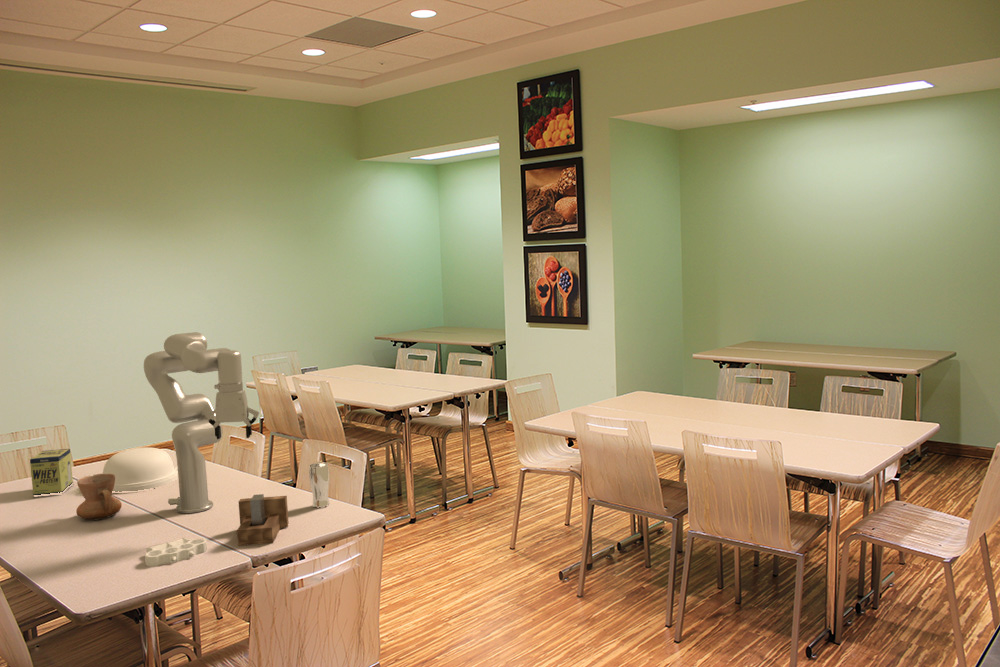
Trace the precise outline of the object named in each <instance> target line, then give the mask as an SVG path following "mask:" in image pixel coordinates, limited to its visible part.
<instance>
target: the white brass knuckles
mask: <svg viewBox="0 0 1000 667" xmlns="http://www.w3.org/2000/svg"><path fill="white" fill-rule="evenodd" d="M207 551H208V543H207V540H206V539H205V538H194V539H193V538H190V539H189V538H188V537H183V538H181V539H177V540H173V541H168V542H165V543H162V544H159V545H154V546H149V547H147V548H146V553H145V555H144V561H145V566H146V565H147V567H151V568H152V567H158V566H162V565H165V564H167V565H168V564H173V563H178V562H180V561H184V560H189V559H192V558H194V557H195V556H197V555H199V554H204V553H206V552H207Z"/></svg>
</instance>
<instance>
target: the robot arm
mask: <svg viewBox="0 0 1000 667" xmlns="http://www.w3.org/2000/svg"><path fill="white" fill-rule="evenodd" d="M207 348H208V340H207V338H206V336H204V334H202V333H201V332H196V331H195V332H186V333H184V332H183V333H176V334H173V335H172V334H171V335H169V336H168V337H167V338H166V339H165V340H164V342H163V349H164V350H161V351H156V352H153V353H150V354H148V355H147V356H146V357H145V358H144V361H143V371H144V374H145V378H146V380H147V381H148V383H149V384H150V386H151V387H152V389H153V390H154V392H156V395H157V397H158V399H159V401H160V403H161V406H162V407H163V410H164V413H165V415H166V417H167V419H168V421H170V422H171V423H173V424H178V425H176V426H175V427H174V428H173V430H172V432H171V440H172V442H173V443H172V444H173V447H174V451H175V457H176V466H177V468H178V480H177V481H178V490H179V492H178V493H179V497H177V498H174V497H173V498H172V497H171V498H168V500H167V502H168V505H170V506H175V505H176V508H175V511H176V512H177V513H180V514H193V513H194V514H195V513H200V512H204V511H208V510H210V509H211V508H213V507H214V501H212V500H209V491H208V479H207V478H208V476H207V467H206V466H207V465H206V459H205V456H204V454H203V453H202V452H201V451H200V450H199V448H201V447H206V446H208V445H214V444H216V443H218V442H220V441H221V440H222V438H223V427H222V424H221V423H241V422H243V423H244V424H245V425H246V426H245V437H246V438H247V439H249V438H250V437H251V436H252V434H253V427H252V425H253V424H254V423H255V422H256V421H257V418H258V417H259V415H260V412H259V411H258V410H255V409H253V408H250V407H249V404H248V398H247V393H246V391H245V390H244V387H243V386H244V384H243V371H242V370H243V368H242V354H241V352H240V351H239V350H234V349H233V350H231V349H229V348H227V347H226V348H225V347H223V348H221V347H220V348H212V349H211V348H210V349H207ZM187 371H190V372H192V373H195V374H205V373H206V374H207V373H213V372H217V375H218V377H217V378H218V383H217V384H214V389H215V390H218V391H217V392H216V395H215V404H214V405H215V407H213V404H212V402H211V400H210V399H209V397H208V396H206V395H205V394H203V393H194V394H186V393H185V392H184V390H183V387H182V385H181V384H180V383H179V382H178V381H177V380H176V379H175V378H173V377H171V376H170V375H168V374H175V373H182V372H183V373H184V372H187ZM214 408H215V409H214ZM250 414H251V415H253V417H252V418H249V415H250Z"/></svg>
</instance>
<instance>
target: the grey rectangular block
mask: <svg viewBox="0 0 1000 667" xmlns="http://www.w3.org/2000/svg"><path fill="white" fill-rule="evenodd" d="M264 497H265V496H264V493H263V494H262V493H261V494H253V496H252V497H251V498H252V499H251V500H250V504H251V518H252V526H260V525H264V524H265V508H264Z"/></svg>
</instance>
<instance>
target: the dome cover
mask: <svg viewBox="0 0 1000 667" xmlns="http://www.w3.org/2000/svg"><path fill="white" fill-rule="evenodd" d="M103 473H110V474H114V475H115V484H114V488H113V491H115V492H118V491H119V492H122V491H138V490H144V489H150V488H155V487H159V486H163V485H166V484H169V483H171V482H173V481H175V480H177V479H178V468H177V465H176V466H175V467H174V462H173V459H172V458H171V456H170V454H169V453H168V452H166V451H165V450H164V449H161V448H157V447H150V446H149V447H146V446H145V447H135V448H129V449H126V450H122V451H120V452H116V453H115V454H114V455H112V456H110V457H109V458H108V459H107V461H106V462H105V464H104V467H103V470H102V474H103ZM177 481H178V480H177Z"/></svg>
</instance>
